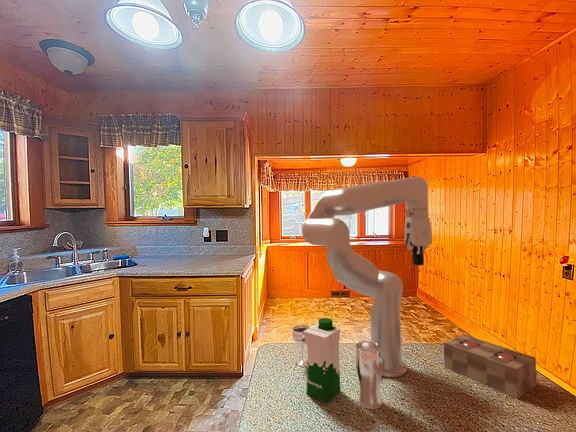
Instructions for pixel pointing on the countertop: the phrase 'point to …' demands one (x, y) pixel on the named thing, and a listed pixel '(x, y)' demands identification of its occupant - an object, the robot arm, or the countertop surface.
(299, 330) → the wineglass
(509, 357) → the peg right
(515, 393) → the tan checkered block
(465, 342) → the peg left
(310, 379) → the milk carton
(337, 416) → the countertop surface
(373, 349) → the beer glass
